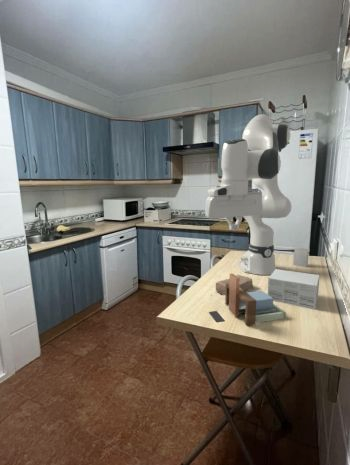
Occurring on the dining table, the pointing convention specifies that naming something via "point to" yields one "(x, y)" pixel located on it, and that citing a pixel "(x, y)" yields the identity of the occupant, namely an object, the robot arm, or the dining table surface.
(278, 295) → the supplement box
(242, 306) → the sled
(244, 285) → the brick
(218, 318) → the dark grey flat block
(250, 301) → the tunnel
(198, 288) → the dining table surface
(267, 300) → the block
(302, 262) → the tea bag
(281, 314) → the green hollow frame
